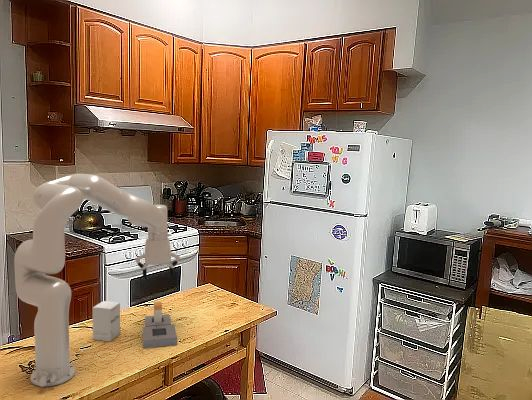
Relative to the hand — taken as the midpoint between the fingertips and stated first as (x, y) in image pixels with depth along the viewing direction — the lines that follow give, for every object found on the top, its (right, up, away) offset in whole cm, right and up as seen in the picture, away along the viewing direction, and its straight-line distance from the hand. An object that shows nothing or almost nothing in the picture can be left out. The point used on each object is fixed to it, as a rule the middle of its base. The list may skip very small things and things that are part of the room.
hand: (158, 277), depth 174 cm
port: (+3, -21, -11) cm, 24 cm away
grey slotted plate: (-1, -20, +2) cm, 20 cm away
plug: (-1, -20, +2) cm, 20 cm away
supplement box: (-17, -21, -10) cm, 28 cm away
